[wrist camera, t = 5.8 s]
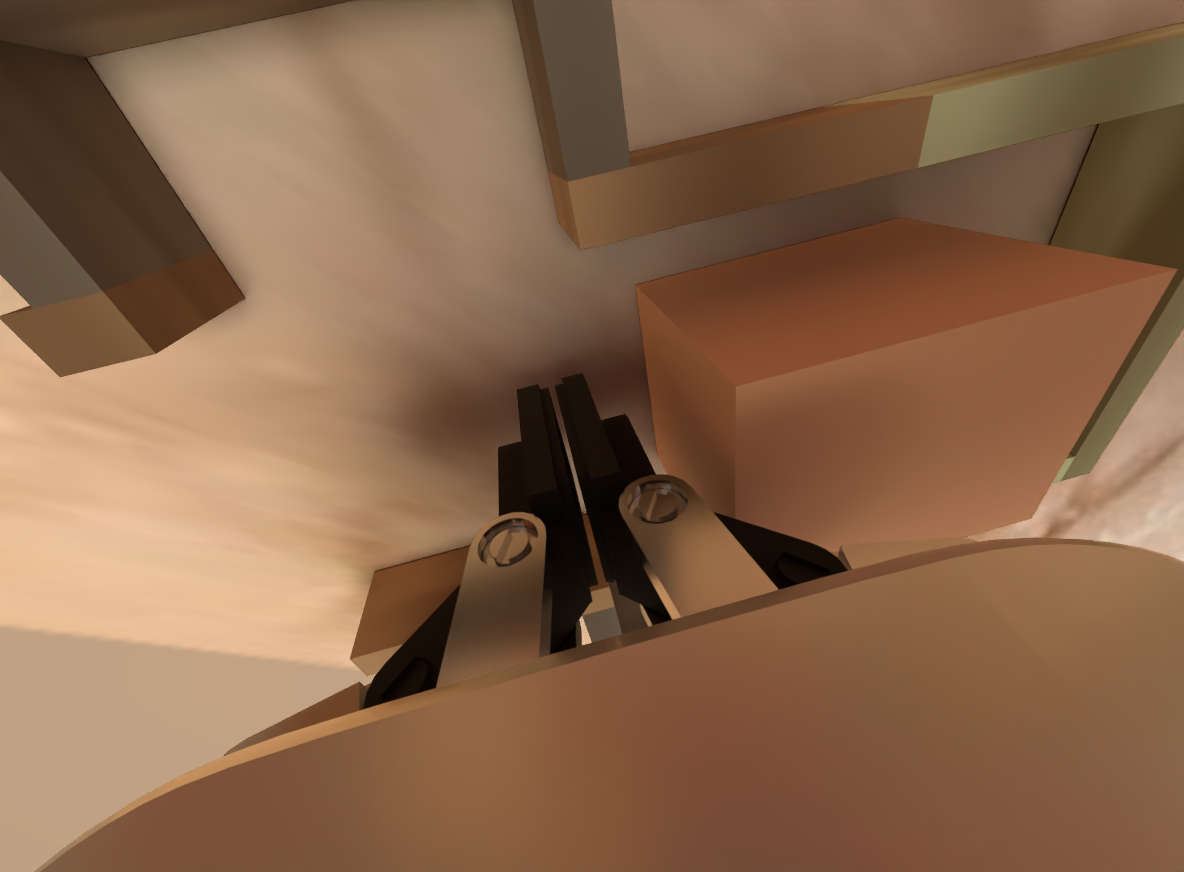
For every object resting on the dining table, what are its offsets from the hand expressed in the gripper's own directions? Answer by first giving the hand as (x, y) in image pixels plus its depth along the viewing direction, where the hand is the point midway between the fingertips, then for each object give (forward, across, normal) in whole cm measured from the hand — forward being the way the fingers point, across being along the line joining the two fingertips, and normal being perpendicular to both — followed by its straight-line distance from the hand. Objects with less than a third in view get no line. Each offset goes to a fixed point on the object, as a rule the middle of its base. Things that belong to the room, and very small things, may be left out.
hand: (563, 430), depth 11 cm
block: (+1, -6, 0) cm, 6 cm away
